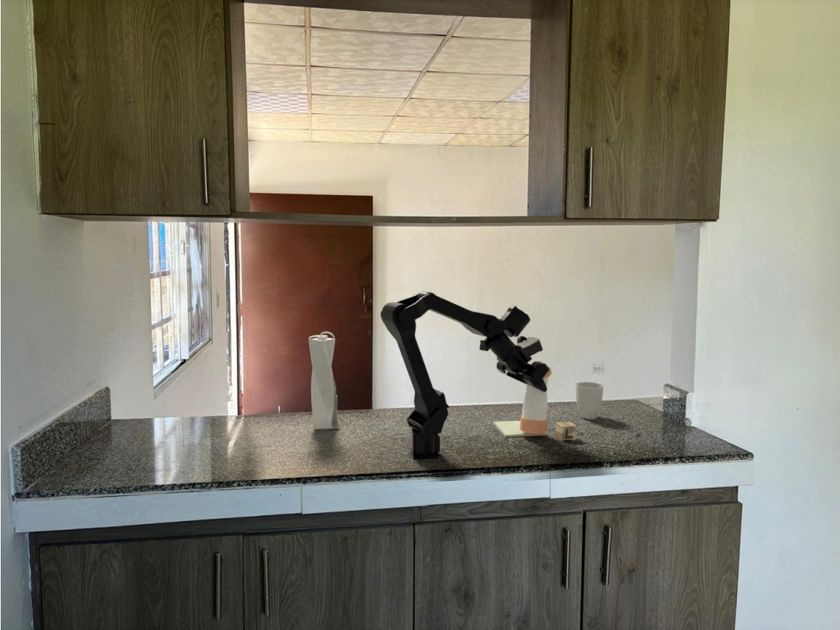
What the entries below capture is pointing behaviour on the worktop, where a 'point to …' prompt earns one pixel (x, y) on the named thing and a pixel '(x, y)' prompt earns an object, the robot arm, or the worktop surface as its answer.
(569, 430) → the letter cube
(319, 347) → the skyscraper
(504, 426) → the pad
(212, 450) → the worktop surface
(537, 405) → the pepper shaker
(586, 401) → the cup
